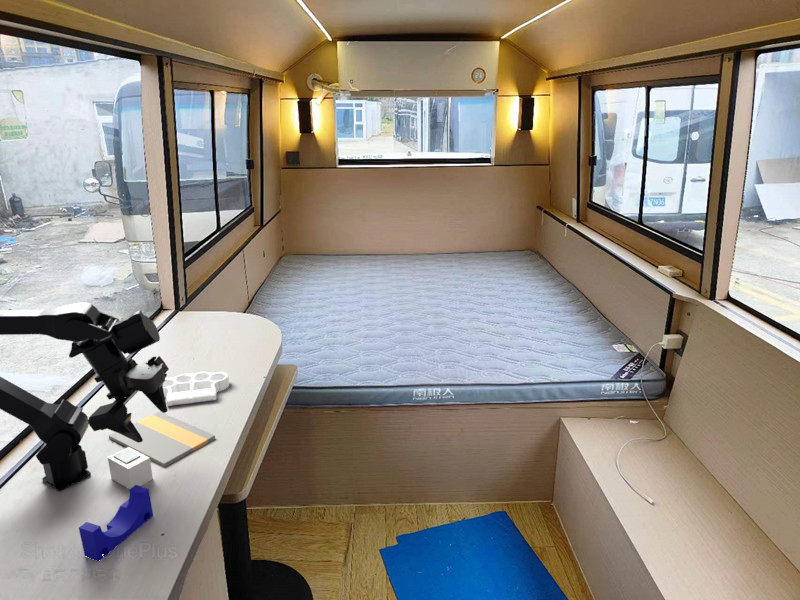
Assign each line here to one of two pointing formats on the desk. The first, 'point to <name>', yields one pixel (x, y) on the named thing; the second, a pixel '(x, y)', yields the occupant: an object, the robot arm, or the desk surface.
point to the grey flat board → (164, 438)
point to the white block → (130, 468)
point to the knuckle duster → (194, 387)
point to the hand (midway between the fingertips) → (153, 426)
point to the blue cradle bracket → (117, 525)
